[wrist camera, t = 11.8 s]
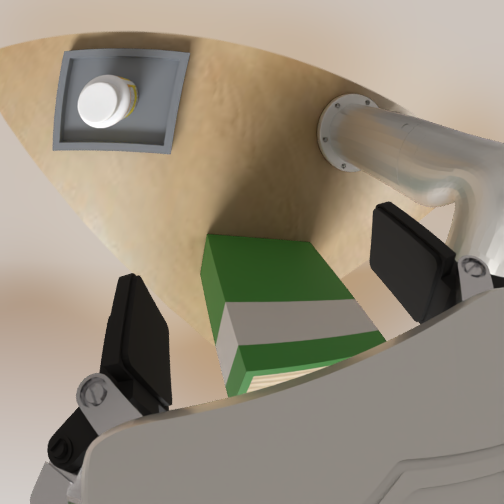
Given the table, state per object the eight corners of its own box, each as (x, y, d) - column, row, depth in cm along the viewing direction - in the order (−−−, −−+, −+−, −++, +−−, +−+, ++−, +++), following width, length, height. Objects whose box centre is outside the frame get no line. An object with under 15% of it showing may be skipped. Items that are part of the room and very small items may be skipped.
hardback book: (309, 242, 47) (391, 347, 28) (296, 276, 51) (361, 383, 32) (206, 234, 41) (246, 371, 22) (200, 274, 45) (231, 409, 26)
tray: (189, 55, 27) (190, 53, 25) (170, 151, 33) (170, 154, 32) (69, 53, 22) (64, 51, 20) (58, 147, 28) (52, 150, 26)
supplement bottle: (89, 98, 26) (59, 102, 18) (124, 69, 25) (105, 60, 17) (112, 129, 29) (90, 143, 21) (148, 101, 29) (137, 104, 20)
